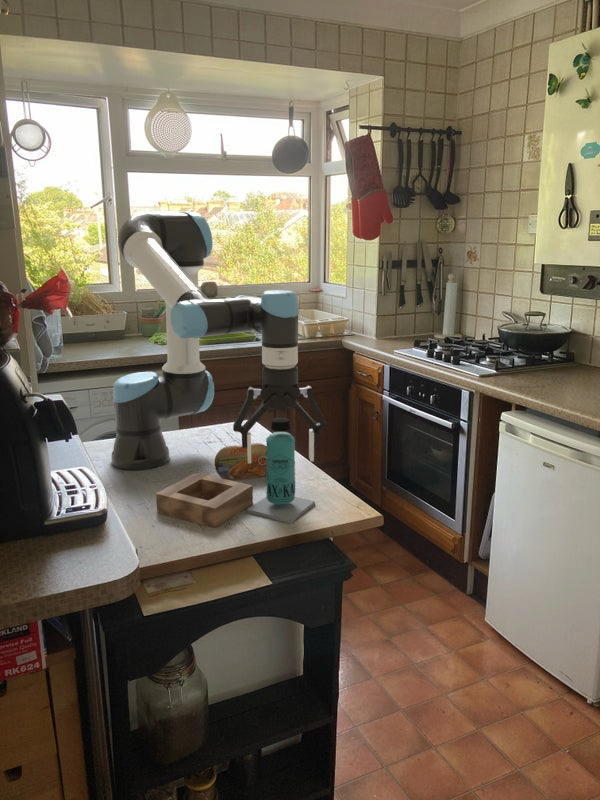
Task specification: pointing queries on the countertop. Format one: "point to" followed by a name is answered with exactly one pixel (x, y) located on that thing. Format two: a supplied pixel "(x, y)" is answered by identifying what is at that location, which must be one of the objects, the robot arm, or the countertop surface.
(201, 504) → the walnut bottle holder
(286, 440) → the beverage bottle
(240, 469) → the tin
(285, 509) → the slate mat
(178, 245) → the robot arm
